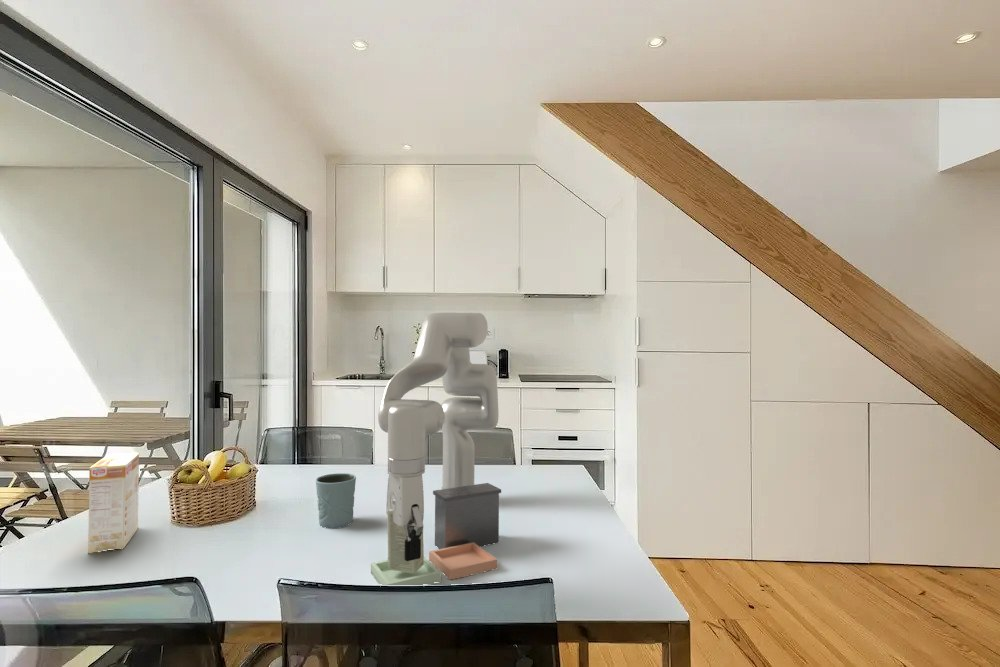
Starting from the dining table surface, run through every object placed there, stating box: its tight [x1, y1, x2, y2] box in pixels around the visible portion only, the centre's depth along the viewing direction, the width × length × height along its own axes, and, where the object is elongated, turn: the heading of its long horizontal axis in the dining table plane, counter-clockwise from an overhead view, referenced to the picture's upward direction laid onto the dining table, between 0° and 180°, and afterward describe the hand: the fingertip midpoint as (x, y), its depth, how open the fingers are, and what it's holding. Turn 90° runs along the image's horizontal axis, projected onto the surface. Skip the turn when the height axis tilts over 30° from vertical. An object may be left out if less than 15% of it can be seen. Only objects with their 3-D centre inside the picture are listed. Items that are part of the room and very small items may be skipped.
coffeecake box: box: [87, 452, 140, 554], centre depth 126 cm, size 15×7×20 cm, turn 23°
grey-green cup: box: [315, 472, 357, 529], centre depth 139 cm, size 10×10×12 cm
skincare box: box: [386, 509, 425, 573], centre depth 107 cm, size 6×4×12 cm
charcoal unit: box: [432, 482, 502, 549], centre depth 125 cm, size 7×15×13 cm, turn 120°
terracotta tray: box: [428, 542, 498, 581], centre depth 113 cm, size 11×11×2 cm
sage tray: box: [370, 556, 442, 585], centre depth 107 cm, size 11×11×2 cm
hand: (405, 551), depth 107 cm, fingers closed on skincare box, 7 cm apart
